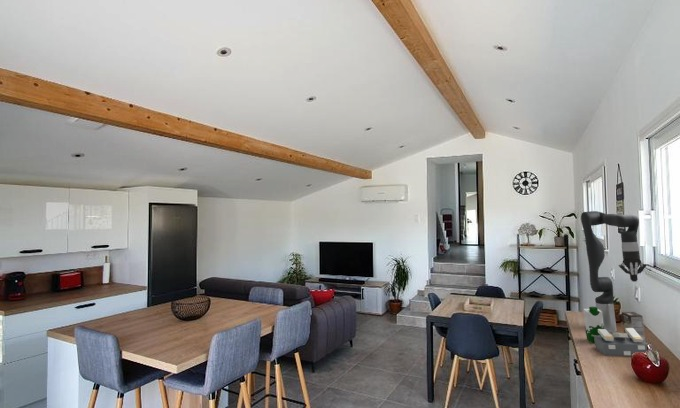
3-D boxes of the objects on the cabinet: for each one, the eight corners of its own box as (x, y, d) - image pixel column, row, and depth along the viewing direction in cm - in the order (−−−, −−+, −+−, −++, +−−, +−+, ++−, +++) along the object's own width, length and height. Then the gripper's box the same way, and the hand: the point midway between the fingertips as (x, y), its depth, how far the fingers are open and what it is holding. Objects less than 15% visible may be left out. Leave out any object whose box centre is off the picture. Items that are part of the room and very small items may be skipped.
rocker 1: (597, 332, 204) (597, 328, 204) (605, 332, 203) (605, 328, 203) (605, 340, 194) (605, 337, 194) (613, 340, 194) (613, 337, 193)
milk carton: (589, 343, 212) (585, 308, 213) (584, 338, 220) (581, 304, 221) (607, 344, 209) (603, 308, 210) (602, 339, 217) (598, 304, 218)
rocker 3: (625, 330, 201) (625, 327, 200) (632, 330, 200) (633, 327, 199) (634, 342, 191) (634, 339, 191) (642, 342, 190) (642, 339, 190)
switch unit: (595, 347, 205) (593, 333, 206) (637, 347, 200) (635, 334, 201) (605, 355, 193) (603, 341, 193) (650, 356, 187) (648, 341, 188)
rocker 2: (612, 336, 202) (611, 332, 202) (619, 336, 201) (619, 332, 201) (619, 337, 193) (619, 333, 193) (628, 337, 192) (627, 333, 192)
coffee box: (624, 340, 214) (620, 311, 215) (636, 339, 212) (633, 311, 213) (633, 345, 205) (629, 315, 206) (646, 345, 203) (643, 315, 204)
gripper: (640, 249, 208) (644, 279, 207) (613, 250, 212) (617, 280, 211) (648, 250, 201) (651, 282, 200) (619, 251, 205) (623, 282, 204)
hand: (634, 281), depth 205 cm, fingers closed
